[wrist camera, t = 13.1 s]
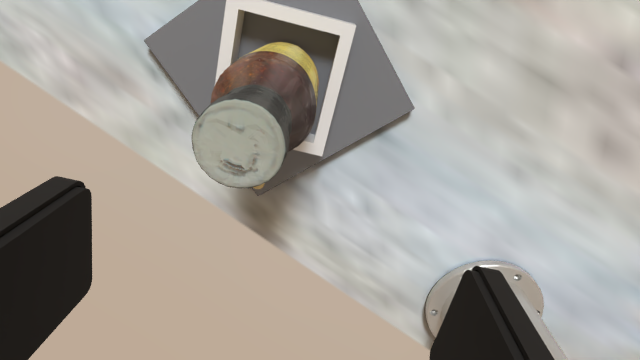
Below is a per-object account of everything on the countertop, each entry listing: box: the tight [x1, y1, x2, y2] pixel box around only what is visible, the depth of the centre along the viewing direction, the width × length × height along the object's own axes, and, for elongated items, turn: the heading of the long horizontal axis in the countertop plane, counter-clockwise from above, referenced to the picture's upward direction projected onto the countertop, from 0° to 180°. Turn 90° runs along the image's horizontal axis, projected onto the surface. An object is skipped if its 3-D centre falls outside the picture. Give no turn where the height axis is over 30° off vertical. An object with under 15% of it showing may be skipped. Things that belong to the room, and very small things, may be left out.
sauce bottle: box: [192, 42, 319, 188], centre depth 26 cm, size 6×6×20 cm
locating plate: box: [144, 0, 415, 196], centre depth 34 cm, size 17×17×4 cm
